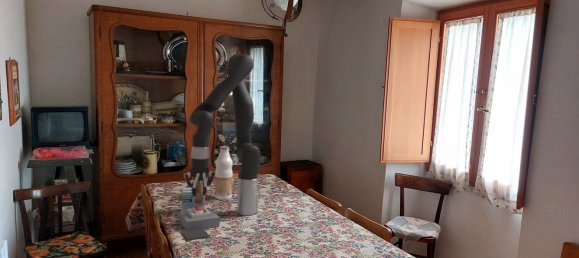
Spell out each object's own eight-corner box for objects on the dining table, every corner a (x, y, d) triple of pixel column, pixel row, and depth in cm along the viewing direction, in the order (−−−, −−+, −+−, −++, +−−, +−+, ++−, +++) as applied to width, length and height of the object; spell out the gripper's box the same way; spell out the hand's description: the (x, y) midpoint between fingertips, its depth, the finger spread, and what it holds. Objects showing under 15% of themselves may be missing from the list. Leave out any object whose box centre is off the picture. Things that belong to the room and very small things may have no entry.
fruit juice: (219, 201, 198) (221, 148, 195) (211, 196, 206) (212, 145, 203) (235, 198, 204) (236, 147, 201) (226, 194, 212) (227, 144, 208)
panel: (209, 216, 176) (209, 204, 175) (219, 226, 163) (219, 213, 163) (178, 220, 168) (178, 208, 168) (186, 231, 156) (187, 218, 156)
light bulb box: (181, 214, 176) (181, 191, 175) (181, 209, 183) (181, 187, 181) (204, 213, 179) (205, 191, 178) (204, 208, 185) (204, 187, 184)
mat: (202, 229, 159) (202, 228, 159) (209, 236, 152) (209, 235, 152) (181, 232, 155) (181, 231, 155) (187, 240, 147) (187, 239, 147)
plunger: (201, 215, 168) (201, 205, 168) (204, 218, 165) (204, 208, 165) (193, 216, 166) (193, 206, 166) (195, 219, 163) (196, 209, 163)
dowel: (201, 200, 167) (202, 178, 166) (203, 203, 164) (204, 180, 163) (193, 201, 166) (194, 179, 165) (195, 204, 163) (196, 181, 161)
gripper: (213, 154, 170) (211, 191, 171) (181, 155, 163) (180, 194, 164) (218, 157, 163) (217, 196, 165) (186, 158, 156) (184, 199, 158)
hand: (198, 195), depth 165 cm, fingers closed on dowel, 3 cm apart
